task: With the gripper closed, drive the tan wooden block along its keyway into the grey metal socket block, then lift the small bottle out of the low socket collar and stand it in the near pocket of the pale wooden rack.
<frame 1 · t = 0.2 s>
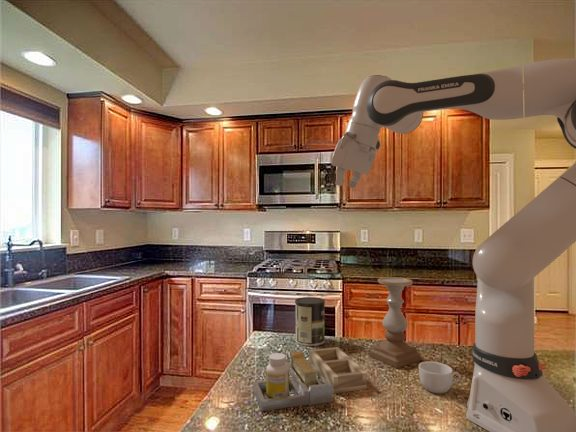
hand: (345, 186, 99), 51 cm above the countertop, tool tilted 20°, fingers open, 8 cm apart
candle holder: (394, 358, 108), on the countertop
coffee can: (309, 341, 122), on the countertop
supplement bottle: (277, 398, 84), resting in socket block
rack: (335, 375, 96), on the countertop
socket block: (277, 397, 84), on the countertop
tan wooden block: (303, 368, 94), point 2 cm above the countertop, slide at 0.0 cm
teacup: (439, 390, 88), on the countertop
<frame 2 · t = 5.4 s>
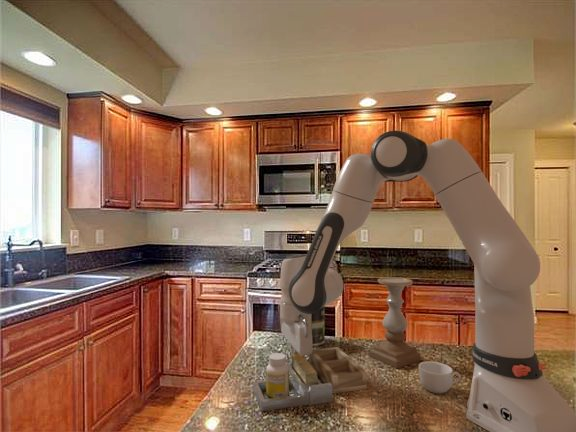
hand: (295, 359, 102), 2 cm above the countertop, tool pointing down, fingers closed
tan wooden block: (303, 369, 94), point 2 cm above the countertop, slide at 0.6 cm, touching gripper
everything else where it was.
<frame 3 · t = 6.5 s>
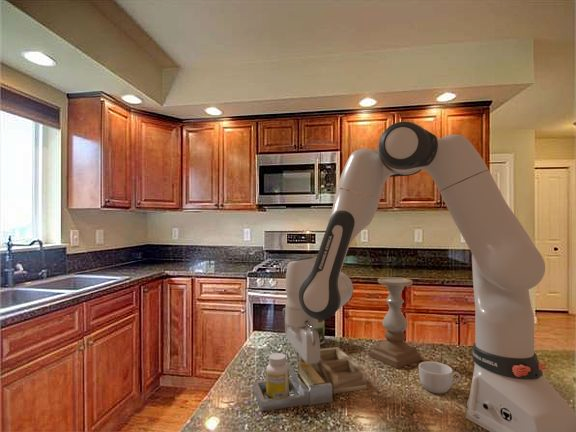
hand: (301, 367, 96), 2 cm above the countertop, tool pointing down, fingers closed
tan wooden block: (310, 378, 89), point 2 cm above the countertop, slide at 6.1 cm, touching gripper
everything else where it was.
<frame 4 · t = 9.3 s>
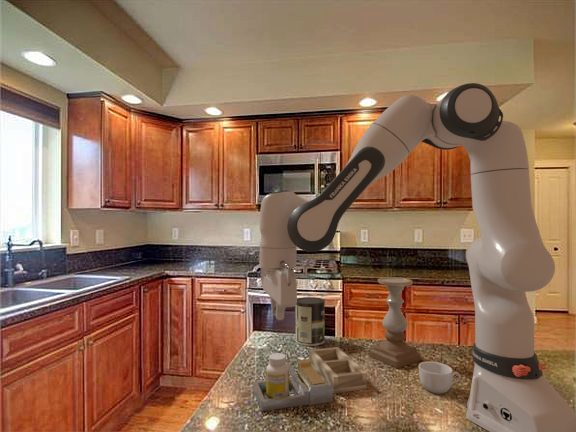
hand: (277, 317, 84), 19 cm above the countertop, tool pointing down, fingers closed
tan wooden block: (310, 378, 89), point 2 cm above the countertop, slide at 6.0 cm
everything else where it was.
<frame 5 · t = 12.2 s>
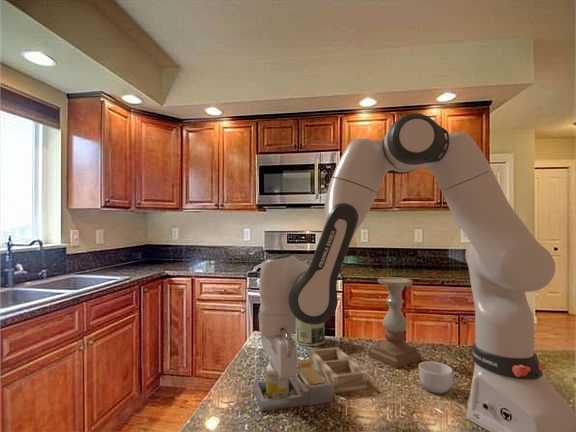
hand: (277, 380, 84), 4 cm above the countertop, tool pointing down, fingers closed on supplement bottle, 5 cm apart
supplement bottle: (277, 397, 84), resting in socket block, touching gripper
everything else where it was.
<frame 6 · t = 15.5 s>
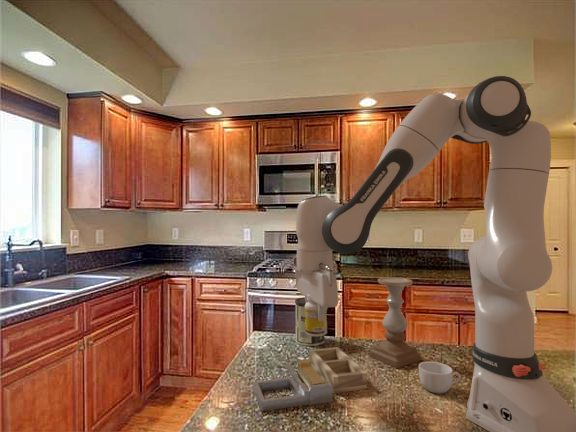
hand: (316, 317, 88), 18 cm above the countertop, tool pointing down, fingers closed on supplement bottle, 5 cm apart
supplement bottle: (316, 334, 88), point 14 cm above the countertop, touching gripper
everything else where it was.
when the fingers open (7 cm above the countertop, at t = 18.8 s): supplement bottle drops 2 cm, resting on rack.
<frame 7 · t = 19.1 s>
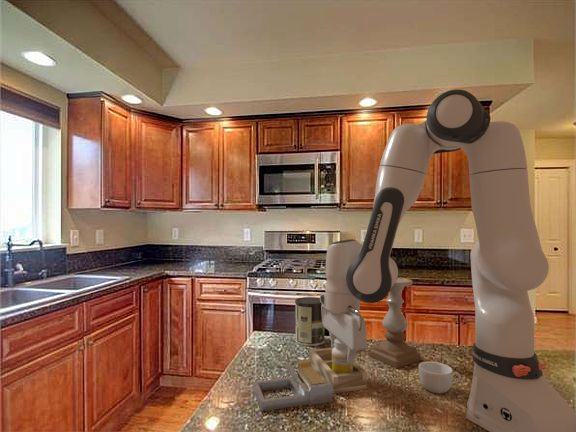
hand: (342, 355, 92), 7 cm above the countertop, tool pointing down, fingers open, 8 cm apart
supplement bottle: (342, 378, 92), point 1 cm above the countertop, touching rack
everything else where it was.
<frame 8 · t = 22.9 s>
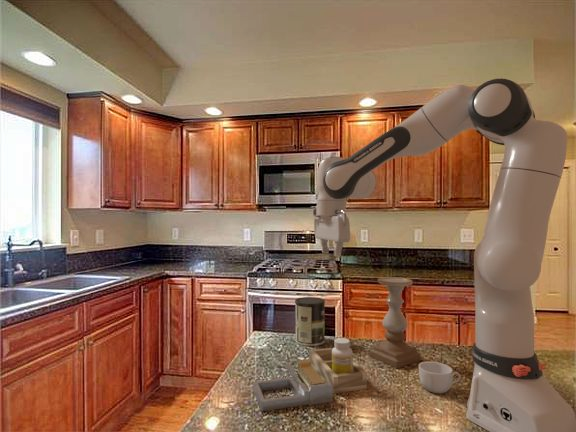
hand: (331, 255, 110), 31 cm above the countertop, tool pointing down, fingers open, 8 cm apart
nothing on the countertop moved.
at the end: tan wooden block slide at 6.0 cm; supplement bottle inside the target area on the rack (0.3 cm from its centre), point 0.8 cm above the rack's base; supplement bottle tilted 0° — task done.
